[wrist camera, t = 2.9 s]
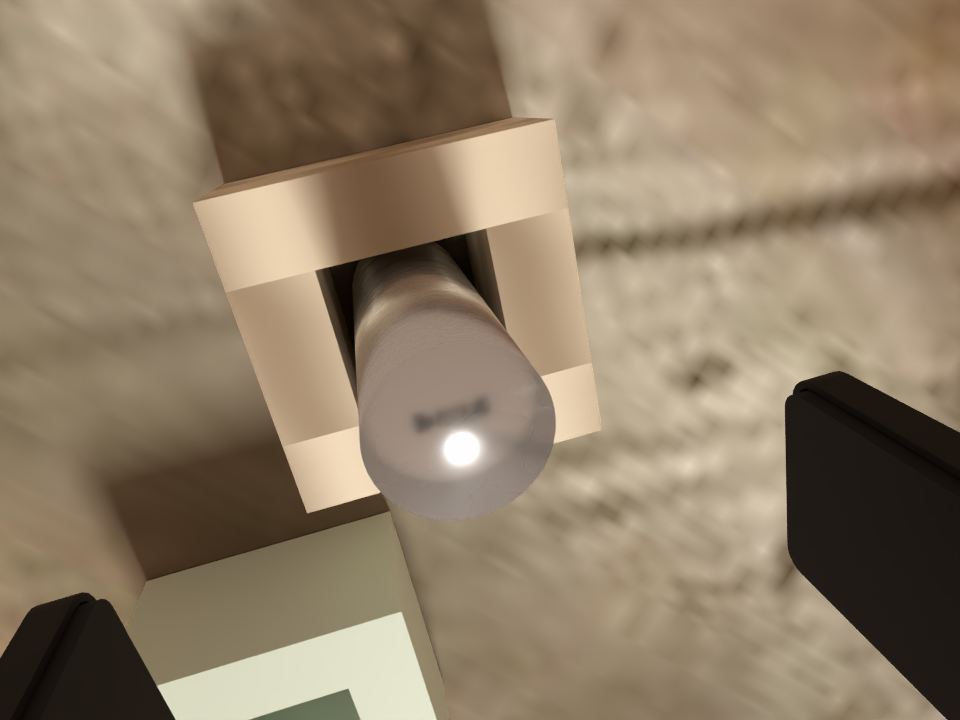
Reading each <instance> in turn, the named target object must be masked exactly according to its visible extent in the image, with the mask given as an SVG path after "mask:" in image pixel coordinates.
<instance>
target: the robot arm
mask: <svg viewBox="0 0 960 720" xmlns="http://www.w3.org/2000/svg"><path fill="white" fill-rule="evenodd" d="M785 435H786V488H787V541H788V550H789V554H790V557H791V559H792V561H793V563H794V565H795V566H796V568H797V569H798V570H799V571H800V573H801V574H802V575H803V576H804V577H805V578H806V579H807V580H808V581H809V582H810V583H811V584H812V585H813V586H814V587H815V588H816V589H817V590H818V591H819V592H820V593H821V594H822V595H823V596H824V597H825V598H826V599H827V600H828V601H829V602H830V603H831V604H832V605H833V606H834V607H835V608H836V609H837V610H838V611H839V612H840V613H841V614H842V615H843V616H844V617H845V618H846V619H847V620H848V621H849V622H850V623H851V624H852V625H853V626H854V627H855V628H856V629H857V630H858V631H859V632H860V633H861V634H862V635H863V636H864V637H865V638H866V639H867V640H868V641H869V642H870V643H871V644H872V645H873V646H874V647H875V648H876V649H877V650H878V651H879V652H880V653H881V654H882V655H883V656H884V657H885V658H886V659H887V660H888V661H889V662H890V663H891V664H892V665H893V666H894V667H895V668H896V669H897V670H898V671H899V672H900V673H901V674H902V675H903V676H904V677H905V678H906V679H907V680H908V681H909V682H910V683H911V684H912V685H913V686H914V687H915V688H916V689H917V690H918V691H919V692H920V693H921V694H922V695H923V696H924V697H925V698H926V699H927V700H928V701H929V702H930V703H931V704H932V705H933V706H934V707H935V708H936V709H937V710H938V711H939V712H940V713H941V714H942V715H943V716H944V717H945V718H946V719H947V720H960V433H959V432H957V431H955V430H953V429H952V428H950V427H948V426H946V425H944V424H942V423H940V422H938V421H936V420H934V419H933V418H931V417H929V416H927V415H925V414H923V413H921V412H919V411H917V410H915V409H913V408H912V407H910V406H908V405H906V404H904V403H902V402H900V401H898V400H896V399H894V398H893V397H891V396H889V395H887V394H885V393H883V392H881V391H879V390H877V389H875V388H873V387H872V386H870V385H868V384H866V383H864V382H862V381H860V380H858V379H856V378H854V377H853V376H851V375H849V374H847V373H844V372H841V371H837V372H832V373H828V374H825V375H821V376H818V377H815V378H811V379H808V380H804V381H801V382H799V383H798V384H797V385H796V386H795V388H794V390H793V395H790V396H789V397H788V398H787V400H786V402H785ZM0 720H176V719H175V718H174V716H173V714H172V712H171V710H170V709H169V707H168V705H167V703H166V701H165V700H164V698H163V696H162V694H161V692H160V691H159V689H158V687H157V685H156V683H155V682H154V680H153V678H152V676H151V674H150V673H149V671H148V669H147V667H146V665H145V664H144V662H143V660H142V658H141V656H140V655H139V653H138V651H137V649H136V647H135V646H134V644H133V642H132V640H131V638H130V637H129V635H128V633H127V631H126V629H125V628H124V626H123V624H122V622H121V620H120V619H119V617H118V615H117V613H116V611H115V610H114V608H113V606H112V605H111V604H110V602H108V601H107V600H106V599H100V600H96V599H95V598H94V597H93V596H92V595H90V594H89V593H83V592H82V593H79V594H75V595H72V596H68V597H65V598H62V599H58V600H55V601H51V602H48V603H45V604H41V605H38V606H36V607H34V608H32V609H31V610H30V611H29V612H28V613H27V615H26V616H25V618H24V620H23V621H22V623H21V625H20V626H19V628H18V630H17V631H16V633H15V635H14V636H13V638H12V640H11V641H10V643H9V645H8V646H7V648H6V650H5V651H4V653H3V655H2V656H1V658H0Z"/></svg>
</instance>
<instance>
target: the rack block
mask: <svg viewBox="0 0 960 720" xmlns="http://www.w3.org/2000/svg"><path fill="white" fill-rule="evenodd" d="M126 631H127V633H128V635H129V637H130V638H131V640H132V642H133V644H134V646H135V647H136V649H137V651H138V653H139V655H140V656H141V658H142V660H143V662H144V664H145V665H146V667H147V669H148V671H149V673H150V674H151V676H152V678H153V680H154V682H155V683H156V685H157V687H158V689H159V691H160V692H161V694H162V696H163V698H164V700H165V701H166V703H167V705H168V707H169V709H170V710H171V712H172V714H173V716H174V718H175V719H176V720H450V718H449V713H448V707H447V701H446V695H445V690H444V684H443V680H442V677H441V674H440V671H439V668H438V664H437V661H436V658H435V655H434V651H433V648H432V645H431V642H430V639H429V635H428V632H427V629H426V626H425V622H424V619H423V616H422V613H421V610H420V606H419V603H418V600H417V597H416V593H415V590H414V587H413V584H412V581H411V577H410V574H409V571H408V568H407V564H406V561H405V558H404V555H403V552H402V548H401V545H400V542H399V539H398V535H397V532H396V529H395V526H394V523H393V519H392V516H391V513H390V511H389V512H385V513H382V514H378V515H375V516H371V517H368V518H364V519H361V520H358V521H354V522H351V523H347V524H344V525H340V526H337V527H333V528H330V529H326V530H323V531H319V532H316V533H312V534H309V535H305V536H302V537H298V538H295V539H291V540H288V541H284V542H281V543H277V544H274V545H271V546H267V547H264V548H260V549H257V550H253V551H250V552H246V553H243V554H239V555H236V556H232V557H229V558H225V559H222V560H218V561H215V562H211V563H208V564H204V565H201V566H197V567H194V568H190V569H187V570H183V571H180V572H177V573H173V574H170V575H166V576H163V577H159V578H156V579H152V580H149V581H146V583H145V586H144V588H143V590H142V593H141V595H140V597H139V600H138V602H137V604H136V607H135V609H134V612H133V614H132V616H131V619H130V621H129V623H128V626H127V628H126Z"/></svg>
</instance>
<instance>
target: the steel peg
mask: <svg viewBox="0 0 960 720" xmlns="http://www.w3.org/2000/svg"><path fill="white" fill-rule="evenodd" d="M352 294H353V315H354V336H355V356H356V377H357V398H358V419H359V439H360V451H361V455H362V460H363V463H364V466H365V468H366V471H367V473H368V475H369V477H370V478H371V480H372V482H373V483H374V485H375V486H376V487H377V488H378V489H379V491H380V492H381V493H382V494H383V495H384V496H385V497H386V498H387V499H389V500H390V501H391V502H393V503H394V504H395V505H397V506H398V507H400V508H402V509H404V510H406V511H408V512H410V513H413V514H415V515H418V516H421V517H425V518H430V519H436V520H463V519H470V518H474V517H478V516H482V515H485V514H487V513H490V512H493V511H495V510H497V509H499V508H501V507H503V506H505V505H506V504H508V503H510V502H511V501H513V500H514V499H515V498H517V497H518V496H519V495H521V494H522V493H523V492H524V491H525V490H526V489H527V488H528V487H529V486H530V485H531V484H532V483H533V482H534V480H535V479H536V478H537V477H538V475H539V474H540V472H541V471H542V469H543V467H544V466H545V464H546V462H547V460H548V458H549V455H550V453H551V450H552V446H553V443H554V437H555V432H556V417H555V408H554V404H553V401H552V397H551V395H550V392H549V390H548V388H547V386H546V384H545V383H544V381H543V379H542V378H541V376H540V375H539V374H538V372H537V371H536V370H535V368H534V367H533V366H532V364H531V363H530V362H529V360H528V359H527V358H526V356H525V355H524V354H523V352H522V351H521V350H520V348H519V347H518V346H517V344H516V343H515V341H514V340H513V339H512V337H511V336H510V335H509V333H508V332H507V331H506V329H505V328H504V327H503V325H502V324H501V323H500V321H499V320H498V319H497V317H496V316H495V315H494V313H493V312H492V311H491V309H490V308H489V307H488V305H487V304H486V303H485V301H484V300H483V299H482V297H481V296H480V295H479V293H478V292H477V291H476V289H475V288H474V287H473V285H472V284H471V282H470V281H469V280H468V278H467V277H466V276H465V274H464V273H463V272H462V270H461V269H460V268H459V266H458V265H457V264H456V262H455V261H454V260H453V258H452V257H451V256H450V255H449V253H448V252H447V251H446V250H445V249H444V248H443V247H442V246H440V245H439V244H437V243H436V242H434V241H433V242H429V243H425V244H421V245H417V246H413V247H409V248H405V249H400V250H396V251H392V252H388V253H384V254H380V255H376V256H372V257H368V258H364V259H361V260H360V261H359V263H358V265H357V267H356V270H355V273H354V277H353V284H352Z"/></svg>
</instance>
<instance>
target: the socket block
mask: <svg viewBox="0 0 960 720" xmlns="http://www.w3.org/2000/svg"><path fill="white" fill-rule="evenodd" d="M193 205H194V208H195V211H196V213H197V216H198V219H199V221H200V224H201V227H202V230H203V232H204V235H205V238H206V240H207V243H208V246H209V249H210V251H211V254H212V257H213V259H214V262H215V265H216V268H217V270H218V273H219V276H220V278H221V281H222V284H223V287H224V289H225V292H226V295H227V297H228V300H229V303H230V305H231V308H232V311H233V314H234V316H235V319H236V322H237V324H238V327H239V330H240V333H241V335H242V338H243V341H244V343H245V346H246V349H247V352H248V354H249V357H250V360H251V362H252V365H253V368H254V370H255V373H256V376H257V379H258V381H259V384H260V387H261V389H262V392H263V395H264V398H265V400H266V403H267V406H268V408H269V411H270V414H271V417H272V419H273V422H274V425H275V427H276V430H277V433H278V436H279V438H280V441H281V444H282V446H283V449H284V452H285V454H286V457H287V460H288V463H289V465H290V468H291V471H292V473H293V476H294V479H295V482H296V484H297V487H298V490H299V492H300V495H301V498H302V501H303V503H304V506H305V509H306V511H307V513H311V512H314V511H318V510H321V509H325V508H328V507H332V506H335V505H339V504H342V503H346V502H349V501H353V500H356V499H360V498H363V497H367V496H370V495H374V494H378V493H381V492H380V491H379V489H378V488H377V487H376V486H375V485H374V483H373V482H372V480H371V478H370V477H369V475H368V473H367V471H366V468H365V466H364V463H363V460H362V455H361V451H360V439H359V419H358V398H357V377H356V356H355V351H354V348H353V345H352V341H351V338H350V335H349V331H348V328H347V325H346V321H345V318H344V315H343V311H342V308H341V305H340V301H339V298H338V295H337V291H336V288H335V285H334V281H333V278H332V275H331V272H330V268H329V267H331V266H336V265H340V264H344V263H348V262H352V261H356V260H360V259H364V258H368V257H372V256H376V255H380V254H384V253H388V252H392V251H396V250H400V249H405V248H409V247H413V246H417V245H421V244H425V243H429V242H433V241H437V240H441V239H445V238H449V237H453V236H457V235H461V234H465V238H466V243H467V248H468V252H469V257H470V262H471V266H472V271H473V276H474V280H475V285H476V289H477V292H478V293H479V295H480V296H481V297H482V299H483V300H484V301H485V303H486V304H487V305H488V307H489V308H490V309H491V311H492V312H493V313H494V315H495V316H496V317H497V319H498V320H499V321H500V323H501V324H502V325H503V327H504V328H505V329H506V331H507V332H508V333H509V335H510V336H511V337H512V339H513V340H514V341H515V343H516V344H517V346H518V347H519V348H520V350H521V351H522V352H523V354H524V355H525V356H526V358H527V359H528V360H529V362H530V363H531V364H532V366H533V367H534V368H535V370H536V371H537V372H538V374H539V375H540V376H541V378H542V379H543V381H544V383H545V384H546V386H547V388H548V390H549V392H550V395H551V397H552V401H553V404H554V408H555V417H556V432H555V437H554V443H557V442H561V441H564V440H568V439H571V438H575V437H578V436H582V435H585V434H589V433H592V432H596V431H599V430H602V427H601V420H600V413H599V407H598V400H597V394H596V387H595V381H594V374H593V367H592V361H591V354H590V348H589V341H588V334H587V328H586V321H585V315H584V308H583V302H582V295H581V288H580V282H579V275H578V269H577V262H576V256H575V249H574V242H573V236H572V229H571V223H570V216H569V209H568V203H567V196H566V190H565V183H564V177H563V170H562V163H561V157H560V150H559V144H558V137H557V131H556V124H555V119H540V118H509V119H505V120H500V121H496V122H492V123H487V124H483V125H479V126H474V127H470V128H465V129H461V130H457V131H452V132H448V133H444V134H439V135H435V136H431V137H426V138H422V139H418V140H413V141H409V142H405V143H400V144H396V145H391V146H387V147H383V148H378V149H374V150H370V151H365V152H361V153H357V154H352V155H348V156H344V157H339V158H335V159H331V160H326V161H322V162H317V163H313V164H309V165H304V166H300V167H296V168H291V169H287V170H283V171H278V172H274V173H270V174H265V175H261V176H257V177H252V178H248V179H244V180H239V181H235V182H230V183H226V184H223V185H222V186H220V187H218V188H217V189H215V190H213V191H212V192H210V193H208V194H207V195H205V196H203V197H202V198H200V199H198V200H196V201H195V202H193ZM554 443H553V444H554Z"/></svg>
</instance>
